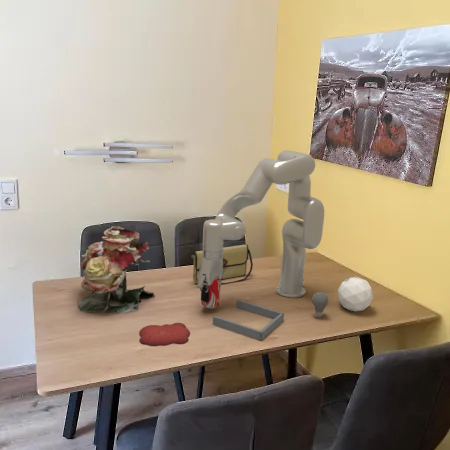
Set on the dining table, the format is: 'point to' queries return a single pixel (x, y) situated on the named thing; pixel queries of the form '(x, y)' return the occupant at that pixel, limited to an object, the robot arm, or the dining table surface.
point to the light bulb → (319, 303)
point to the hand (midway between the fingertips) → (210, 297)
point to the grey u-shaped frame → (250, 331)
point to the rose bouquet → (112, 272)
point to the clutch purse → (227, 262)
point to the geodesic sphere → (355, 294)
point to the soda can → (213, 294)
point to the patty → (164, 334)
